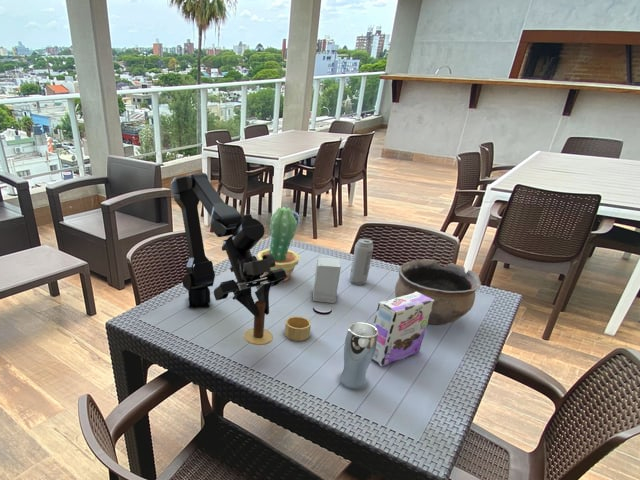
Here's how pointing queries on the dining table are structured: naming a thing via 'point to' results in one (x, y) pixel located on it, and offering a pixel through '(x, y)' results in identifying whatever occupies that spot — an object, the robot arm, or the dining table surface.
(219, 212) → the robot arm
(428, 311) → the candy box
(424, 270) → the ceramic bowl
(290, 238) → the potted cactus
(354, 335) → the beer glass
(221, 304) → the dining table surface
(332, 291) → the white packaging box
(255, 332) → the peg on round base
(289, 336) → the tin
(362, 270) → the energy drink can
